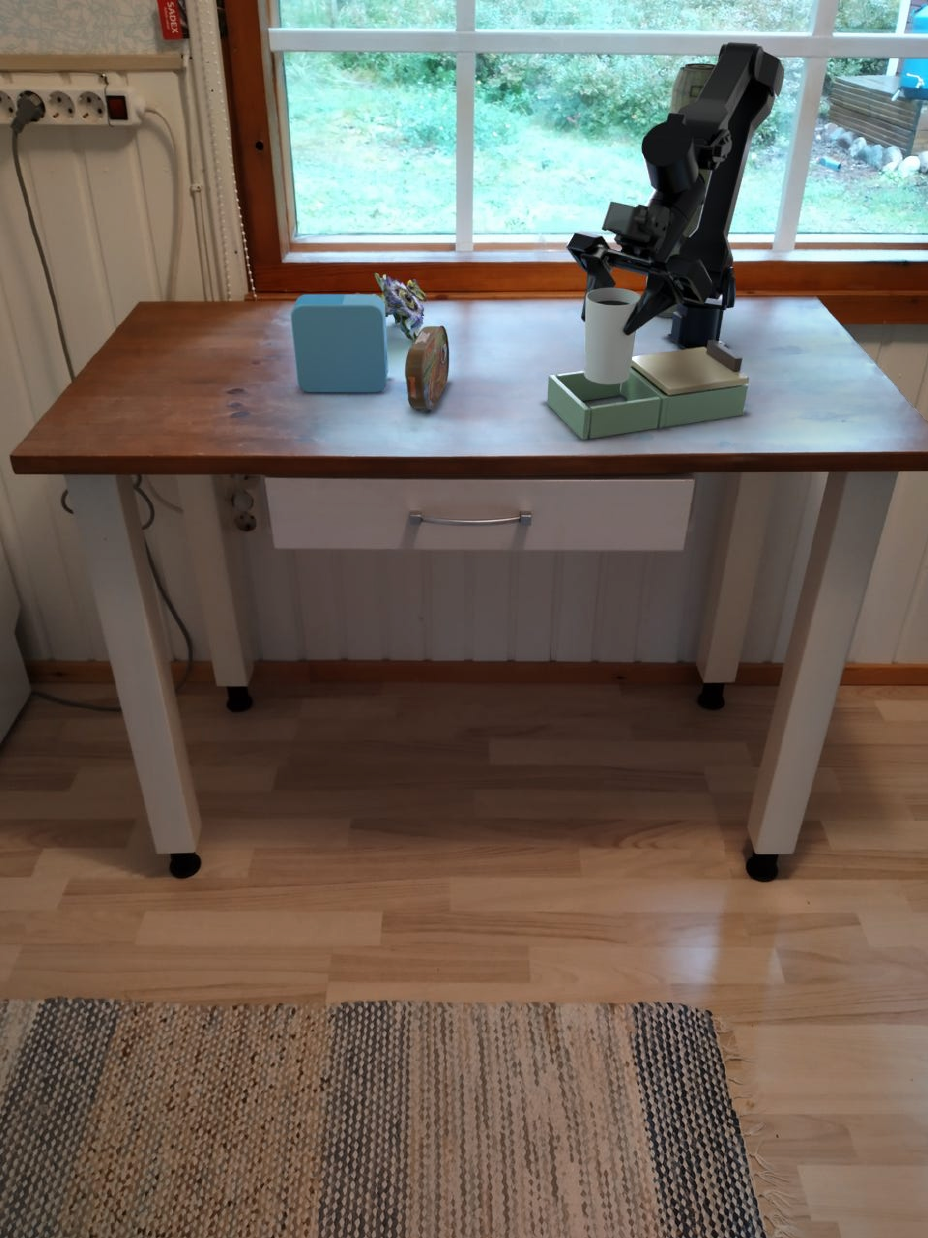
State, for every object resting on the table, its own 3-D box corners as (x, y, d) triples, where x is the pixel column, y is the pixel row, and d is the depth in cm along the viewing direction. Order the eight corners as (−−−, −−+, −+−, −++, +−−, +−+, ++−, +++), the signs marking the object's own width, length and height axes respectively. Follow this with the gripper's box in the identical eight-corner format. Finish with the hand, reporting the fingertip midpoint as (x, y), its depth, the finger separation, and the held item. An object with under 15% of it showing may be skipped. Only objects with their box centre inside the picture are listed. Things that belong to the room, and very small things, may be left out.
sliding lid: (703, 352, 135) (706, 333, 133) (748, 383, 126) (752, 363, 124) (627, 362, 132) (629, 343, 130) (668, 395, 123) (671, 375, 121)
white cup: (639, 369, 127) (647, 291, 121) (624, 389, 122) (631, 309, 116) (590, 361, 129) (596, 284, 123) (573, 380, 124) (578, 301, 118)
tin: (427, 420, 127) (425, 357, 122) (403, 418, 127) (400, 355, 123) (451, 376, 139) (451, 316, 134) (429, 374, 139) (428, 315, 134)
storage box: (698, 382, 137) (702, 354, 135) (742, 415, 128) (748, 385, 126) (546, 403, 131) (548, 375, 129) (582, 439, 122) (584, 409, 120)
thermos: (648, 320, 157) (676, 70, 136) (640, 296, 167) (665, 59, 146) (704, 321, 157) (741, 71, 136) (692, 297, 166) (725, 59, 146)
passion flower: (416, 373, 154) (427, 327, 142) (346, 361, 152) (352, 314, 141) (422, 312, 157) (433, 263, 146) (353, 300, 156) (360, 250, 144)
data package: (388, 379, 138) (384, 293, 131) (386, 393, 134) (382, 305, 127) (302, 379, 138) (294, 293, 131) (298, 392, 134) (289, 305, 127)
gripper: (580, 160, 119) (517, 274, 119) (713, 186, 109) (643, 310, 109) (614, 215, 128) (555, 321, 129) (740, 244, 118) (675, 359, 118)
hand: (604, 326), depth 121 cm, fingers closed on white cup, 6 cm apart
